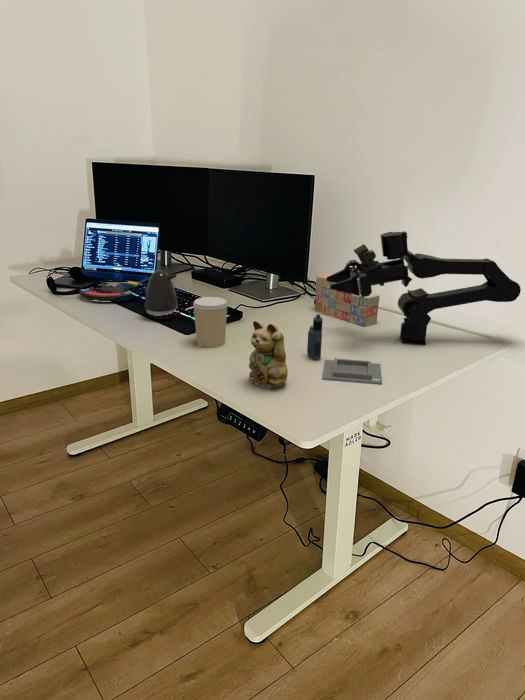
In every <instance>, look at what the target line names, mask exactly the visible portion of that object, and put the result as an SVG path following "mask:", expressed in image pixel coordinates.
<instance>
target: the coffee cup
mask: <svg viewBox="0 0 525 700" xmlns="http://www.w3.org/2000/svg"><path fill="white" fill-rule="evenodd" d="M192 306H193V313H194V314H193V315H194V324H195V335H196V336H195V337H196V343H198V344H199V345H201V346H200V347H202V346H205V347H204V348H209V347H212V348H218V347H217V346H219V347H222V346H224V345H225V342H226V335H227V334H226V331H227V316H228V315H227V314H228V302H227V300H226V299H225V298H222V297H216V296H204V297H203V296H202V297H199V298H197V299H196V298H195V300H194V302H193V304H192ZM198 344H197V345H198ZM223 344H224V345H223ZM199 345H198V346H199ZM221 345H222V346H221Z"/></svg>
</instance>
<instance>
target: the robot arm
mask: <svg viewBox="0 0 525 700" xmlns="http://www.w3.org/2000/svg"><path fill="white" fill-rule="evenodd" d="M380 243H381V250H382V251H381V252H382V257H385V258H386V260H388V261H382V262H380V261H378V260H375V259H376V258H377V255H376V253H375V251H374V249H373V250H372V249H371V250H369V248H368V247H367V246H366V244H361V245H360V246H358V247H357V248H355V249H353V252H354V253H355V255H357V257H358V259H359V261H360V262H359V261H357V260H356V259H352V260H348V262H346V264H345V265H344V268H343V269H340V270H339V271H337V272H335V273H333V274H332V275H331V276H328V277H327V278H326V279H327V281H328V282H335V284H333V285H330V288H331V290H336V291H341V292H345V293H349V294H353V295H357V296H360V295H361V297H367V296H369V295H370V294H371V293H373V290H372V286H378V285H379V286H380V287H382V286H383V287H384V286H385V284H387V283H392V282H393V283H394V282H398V281H401V284H402V285H403V286H404V287H405V288H406V287H408V285H410V282H411V281H412V280H413V278H412V277H410V276H409V272H410V273H411V274H413V275H414V276H415V277H416V278H418V279H428V278H435V277H437V276H440V275H474V276H475V275H477V276H478V275H480V276H481V275H482V276H483V277H484V278H485V280H486V281H484V283H482V284H480V285H479V284H478V285H474V286H468V287H462V288H456V289H451V290H445V291H444V290H443V291H439V292H433V293H428V292H427V291H425V290H424V288H422V287H421V288H417V289H414V290H410V289H407V292H405V293H402V294H401V295H400V297H399V298H398V300H397V306H398V308H399V310H400V311H401V312H402V313H403V316H404V317H403V322H401V324H400V331H399V338H400V340H401V343H402V344H406V345H407V344H409V345H421V346H422V345H427V342H426V338H427V337H426V336H427V329H428V325H429V324H430V321H431V319H432V317H431V316H430V315H429V313H431V312H432V311H435V310H437V309H444V308H449V307H455V306H460V305H467V304H472V303H478V302H479V303H480V302H485V301H486V302H487V301H488V302H497V303H511V302H514V301H516V300H517V299H518V297H519V296H520V294H521V290H522V289H521V285H520V284H519V283H518V282H516V281H515V280H513V279H511V278H510V277H509V276H508V275H506V273H505V272H504V271H503V270H502V269H501V268H500V267H499V266H498V264H497V263H496V261H494V260H491V259H490V258H479V259H478V258H442V257H437V256H433V255H429V254H424V253H419V252H418V253H413V252H411V251H410V250H409V249H408V247H409V246H408V233H407V231H406V230H405V231H388V232H384V233H382V234H380ZM405 262H406V265H405Z"/></svg>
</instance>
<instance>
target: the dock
mask: <svg viewBox="0 0 525 700" xmlns="http://www.w3.org/2000/svg"><path fill="white" fill-rule="evenodd" d="M321 380H325V381H336V382H346V383H348V382H349V383H357V384H358V383H359V384H360V383H361V384H373V385H383V377H382V366H381V364H380V363H372V360H363V359H362V360H361V359H350V358H349V359H346V358H335V357H334V359H324V364H323V370H322V377H321Z"/></svg>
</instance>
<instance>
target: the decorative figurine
mask: <svg viewBox="0 0 525 700" xmlns="http://www.w3.org/2000/svg"><path fill="white" fill-rule="evenodd" d="M252 325H253V328H254V331H253V332H252V336H251V338H250V343H251V345H252V347H253V348H255V349H254V350H252V352H251V353H250V354H249V359H248V360H249V363H248V368H249V369H250V370H251V371H250V372H249V373H248V376H249V378H250V379H253V380H254V384H255V385H258V386H260V387H263V388H266V389H268V390H271V389H273V388H275V387H279V386H281V385H284V384H285V382H286V381H287V380H288V375H289V374H288V373H289V372H288V368H287V362H286V361H287V360H286V359H287V354H286V351H285V339H284V338H285V337H284V334H283V333H282V332H281V331H279V328H278V326H277V325H276V324H275V323H269V324H267V326H265V325H264V324H263V323H262V322H261V321H258V320H254V321H253V322H252Z"/></svg>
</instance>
